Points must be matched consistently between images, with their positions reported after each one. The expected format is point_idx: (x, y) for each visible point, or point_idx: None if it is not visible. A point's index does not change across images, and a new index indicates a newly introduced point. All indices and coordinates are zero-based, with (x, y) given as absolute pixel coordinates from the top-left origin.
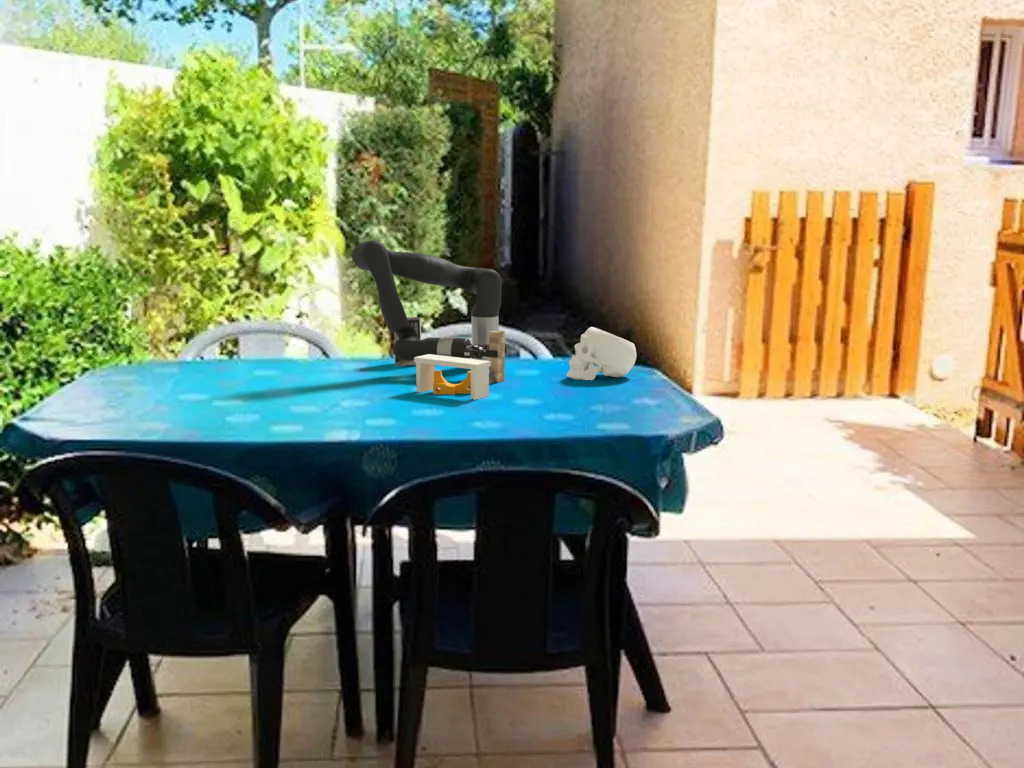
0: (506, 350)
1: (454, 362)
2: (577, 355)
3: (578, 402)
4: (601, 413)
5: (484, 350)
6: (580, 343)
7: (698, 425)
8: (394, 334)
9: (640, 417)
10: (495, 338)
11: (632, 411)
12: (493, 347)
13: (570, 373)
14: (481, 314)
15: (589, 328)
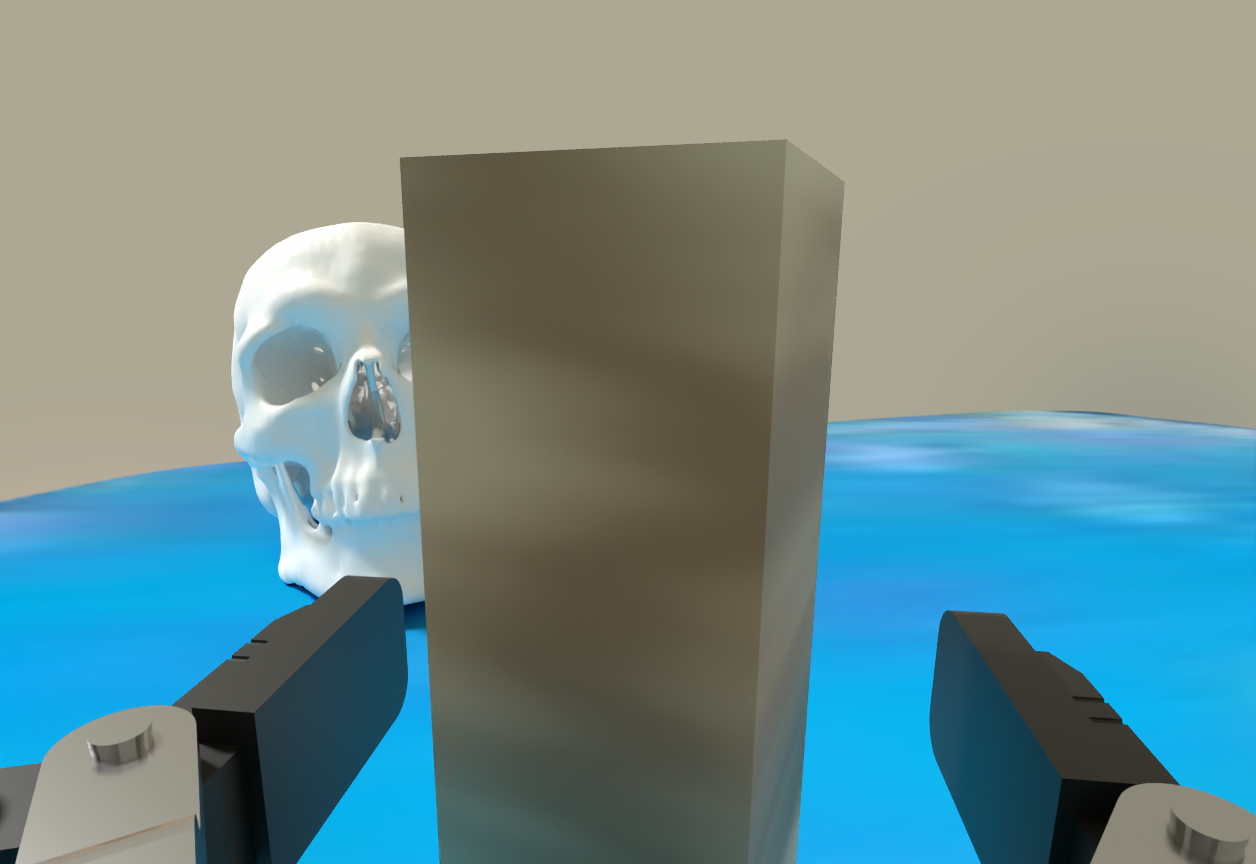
0: (397, 640)
1: None
2: (410, 429)
3: (1112, 550)
4: (1232, 503)
5: (1247, 822)
6: (378, 343)
7: (1113, 417)
8: None
9: (1158, 459)
10: (815, 366)
11: (1091, 468)
12: (794, 640)
13: (420, 572)
14: None
15: (365, 232)
